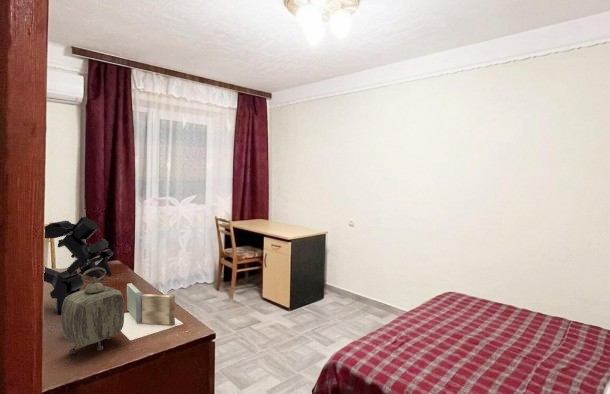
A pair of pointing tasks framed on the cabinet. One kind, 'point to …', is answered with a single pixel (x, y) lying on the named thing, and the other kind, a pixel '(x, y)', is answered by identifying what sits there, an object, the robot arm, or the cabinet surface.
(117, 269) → the cabinet surface
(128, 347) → the cabinet surface
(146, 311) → the brown flat square block
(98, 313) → the tabletop clock
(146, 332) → the card
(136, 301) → the folding fence panel
